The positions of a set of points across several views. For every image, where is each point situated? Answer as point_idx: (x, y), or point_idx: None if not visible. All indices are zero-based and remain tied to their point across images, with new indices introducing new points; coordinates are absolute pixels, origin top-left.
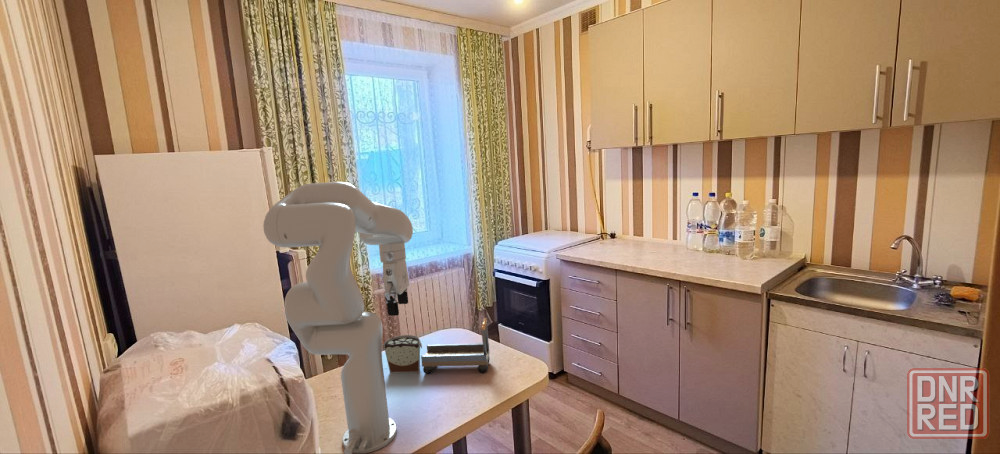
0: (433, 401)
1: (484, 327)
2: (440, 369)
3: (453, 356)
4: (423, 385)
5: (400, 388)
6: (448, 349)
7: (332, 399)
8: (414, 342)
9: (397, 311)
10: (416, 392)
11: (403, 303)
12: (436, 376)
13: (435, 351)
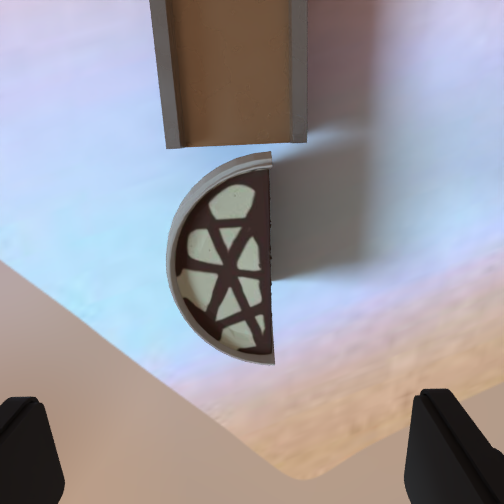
0: (500, 31)
1: None
2: None
3: None
4: (371, 115)
5: (384, 204)
6: (171, 15)
7: None
8: (237, 204)
9: (471, 428)
10: (421, 129)
11: (50, 441)
12: None
13: (187, 98)
